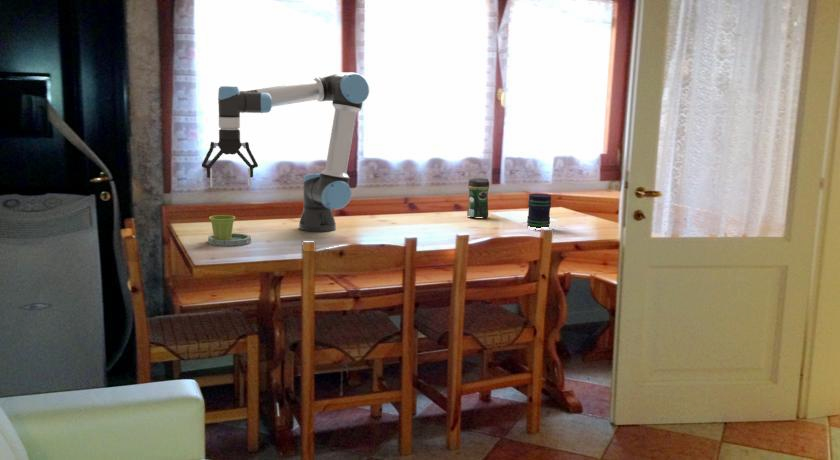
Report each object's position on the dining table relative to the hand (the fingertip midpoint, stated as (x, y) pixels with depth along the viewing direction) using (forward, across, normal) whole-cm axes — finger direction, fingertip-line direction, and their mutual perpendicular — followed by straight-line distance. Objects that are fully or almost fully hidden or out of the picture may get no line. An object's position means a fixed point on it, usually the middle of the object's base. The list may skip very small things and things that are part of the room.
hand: (230, 186), depth 302 cm
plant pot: (+20, +3, +2) cm, 20 cm away
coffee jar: (+22, -114, -48) cm, 126 cm away
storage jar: (+22, -132, -17) cm, 135 cm away
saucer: (+21, +1, +2) cm, 21 cm away
